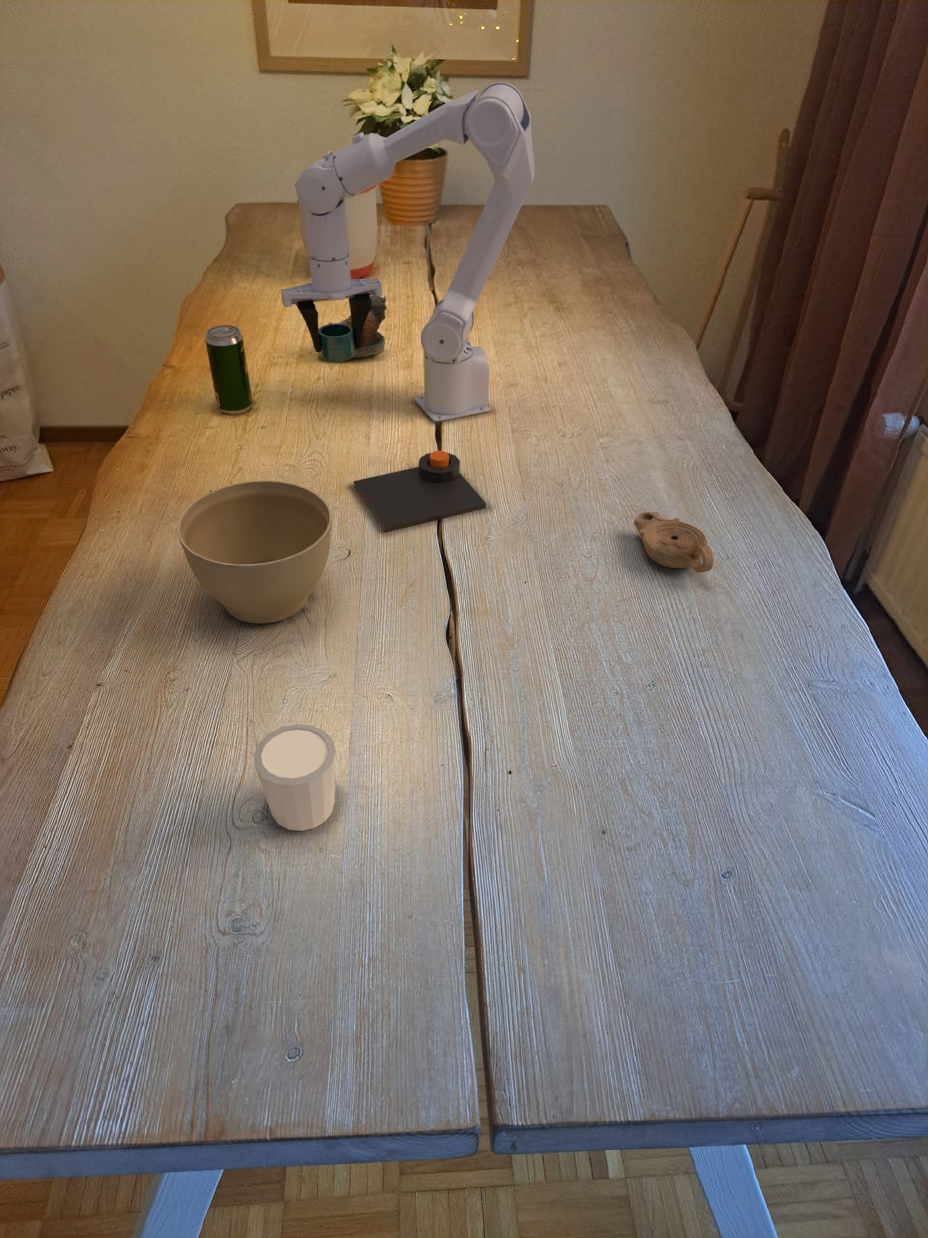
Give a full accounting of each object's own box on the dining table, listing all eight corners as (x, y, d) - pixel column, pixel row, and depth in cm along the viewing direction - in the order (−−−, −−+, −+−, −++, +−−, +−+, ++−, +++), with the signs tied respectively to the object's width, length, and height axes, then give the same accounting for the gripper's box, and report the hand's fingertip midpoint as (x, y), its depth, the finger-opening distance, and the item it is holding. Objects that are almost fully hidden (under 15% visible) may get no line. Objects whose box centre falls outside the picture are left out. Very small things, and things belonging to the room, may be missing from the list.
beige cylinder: (267, 777, 83) (257, 725, 79) (342, 773, 84) (336, 721, 79) (260, 839, 78) (249, 786, 74) (340, 834, 79) (334, 782, 74)
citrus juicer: (333, 252, 195) (325, 150, 182) (396, 269, 187) (392, 163, 174) (281, 272, 185) (269, 165, 172) (345, 291, 177) (337, 181, 164)
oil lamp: (617, 536, 114) (622, 502, 111) (667, 523, 116) (674, 490, 113) (675, 596, 105) (682, 561, 102) (729, 581, 107) (738, 546, 104)
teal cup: (346, 345, 141) (344, 320, 138) (361, 358, 137) (359, 333, 135) (314, 352, 139) (312, 327, 136) (328, 365, 135) (326, 340, 133)
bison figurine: (318, 365, 151) (312, 305, 145) (317, 348, 157) (312, 289, 150) (390, 362, 153) (387, 303, 146) (387, 345, 158) (384, 287, 151)
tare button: (444, 457, 124) (444, 449, 123) (451, 466, 122) (451, 457, 122) (426, 461, 123) (426, 452, 122) (434, 470, 122) (434, 461, 121)
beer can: (225, 418, 137) (212, 341, 129) (212, 404, 140) (198, 329, 132) (258, 409, 139) (247, 333, 131) (244, 396, 142) (233, 321, 135)
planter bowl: (218, 663, 95) (200, 581, 88) (179, 579, 106) (161, 500, 99) (360, 619, 101) (354, 538, 94) (310, 544, 112) (301, 467, 105)
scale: (449, 464, 127) (449, 448, 125) (487, 508, 119) (488, 491, 117) (353, 485, 122) (351, 469, 121) (385, 533, 114) (384, 516, 112)
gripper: (283, 269, 124) (294, 363, 132) (386, 258, 127) (390, 350, 136) (273, 253, 129) (285, 345, 137) (372, 242, 132) (377, 333, 141)
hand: (336, 346), depth 137 cm, fingers closed on teal cup, 5 cm apart
